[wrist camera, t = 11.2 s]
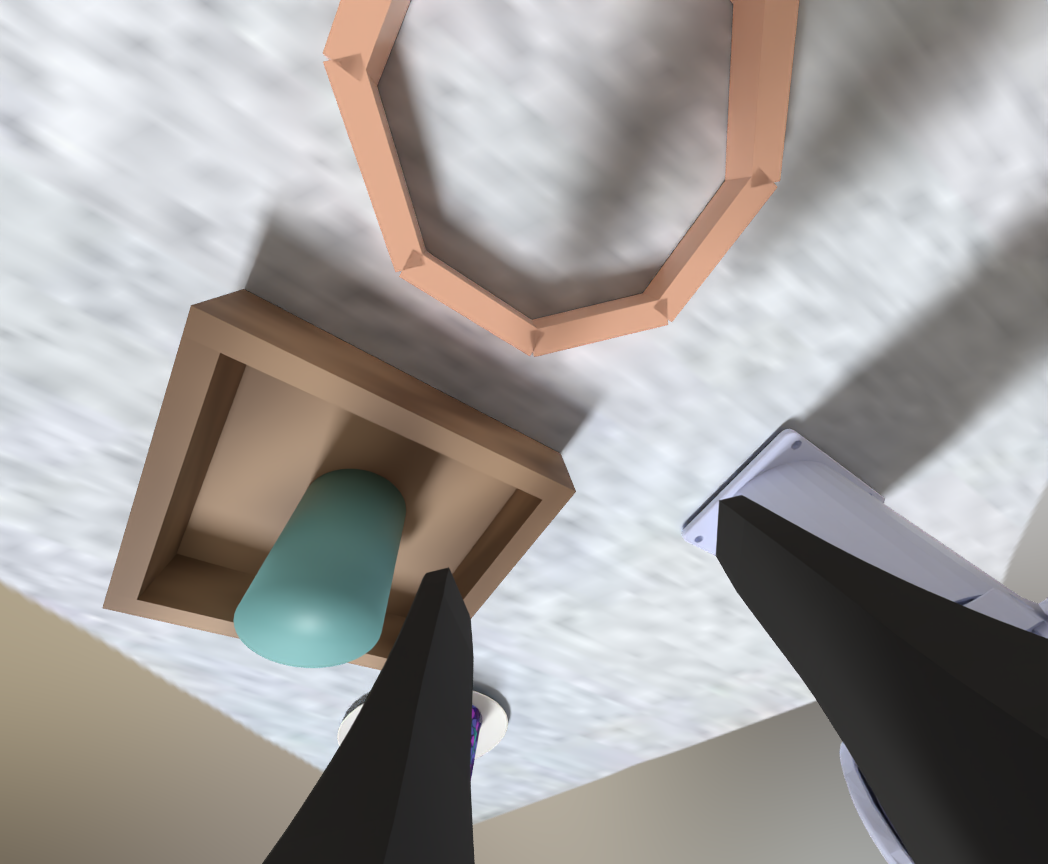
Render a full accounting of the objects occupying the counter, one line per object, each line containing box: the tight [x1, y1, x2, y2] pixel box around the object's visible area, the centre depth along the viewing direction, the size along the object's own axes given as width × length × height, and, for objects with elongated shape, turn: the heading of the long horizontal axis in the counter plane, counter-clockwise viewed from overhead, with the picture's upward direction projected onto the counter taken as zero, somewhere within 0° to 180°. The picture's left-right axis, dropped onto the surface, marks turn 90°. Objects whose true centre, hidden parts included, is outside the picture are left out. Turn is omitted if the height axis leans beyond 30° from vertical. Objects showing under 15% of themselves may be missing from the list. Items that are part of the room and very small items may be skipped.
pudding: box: [337, 691, 508, 776], centre depth 27 cm, size 12×12×5 cm
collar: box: [323, 0, 799, 357], centre depth 12 cm, size 13×13×2 cm
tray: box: [103, 289, 576, 670], centre depth 17 cm, size 14×14×3 cm
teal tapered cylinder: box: [234, 469, 406, 668], centre depth 16 cm, size 4×6×6 cm
